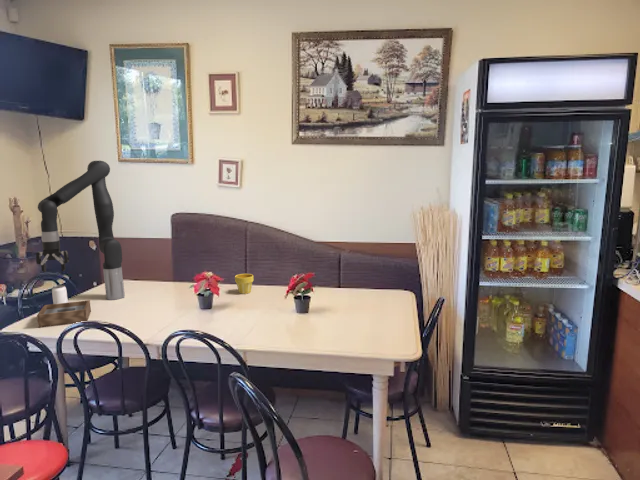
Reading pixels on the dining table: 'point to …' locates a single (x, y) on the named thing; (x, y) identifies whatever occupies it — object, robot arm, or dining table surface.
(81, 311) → the box
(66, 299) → the can
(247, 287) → the plant pot
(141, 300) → the dining table surface
